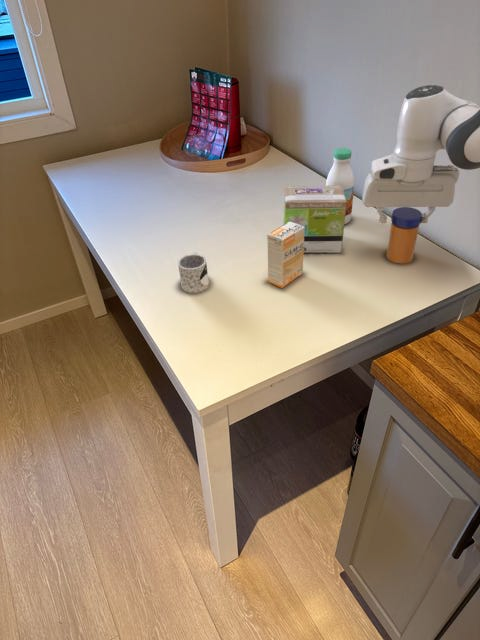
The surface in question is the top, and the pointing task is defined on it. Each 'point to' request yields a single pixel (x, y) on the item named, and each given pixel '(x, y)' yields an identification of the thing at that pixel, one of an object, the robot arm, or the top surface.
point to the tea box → (317, 215)
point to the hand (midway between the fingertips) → (402, 222)
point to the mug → (193, 273)
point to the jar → (401, 244)
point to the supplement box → (285, 253)
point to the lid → (406, 217)
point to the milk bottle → (343, 178)
